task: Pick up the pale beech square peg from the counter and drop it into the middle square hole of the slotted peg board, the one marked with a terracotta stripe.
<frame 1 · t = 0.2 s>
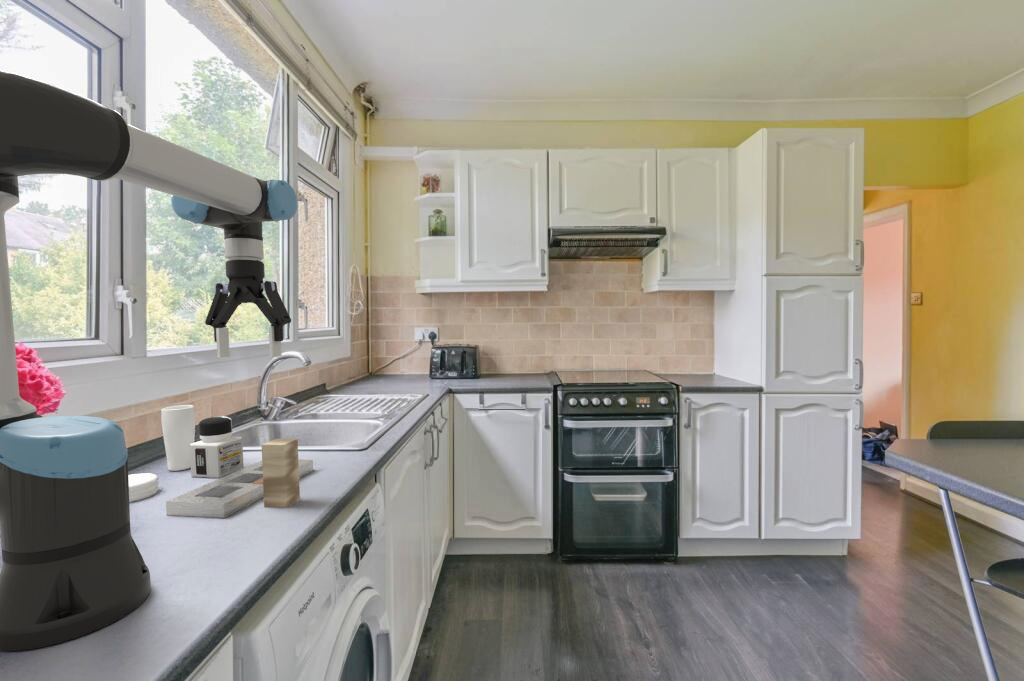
hand: (249, 357, 109), 27 cm above the worktop, fingers open, 13 cm apart
coaster: (129, 497, 102), on the worktop
beech peg: (282, 503, 95), on the worktop
container: (218, 473, 116), on the worktop
drinking glass: (181, 469, 120), on the worktop
slotted peg board: (248, 489, 103), on the worktop
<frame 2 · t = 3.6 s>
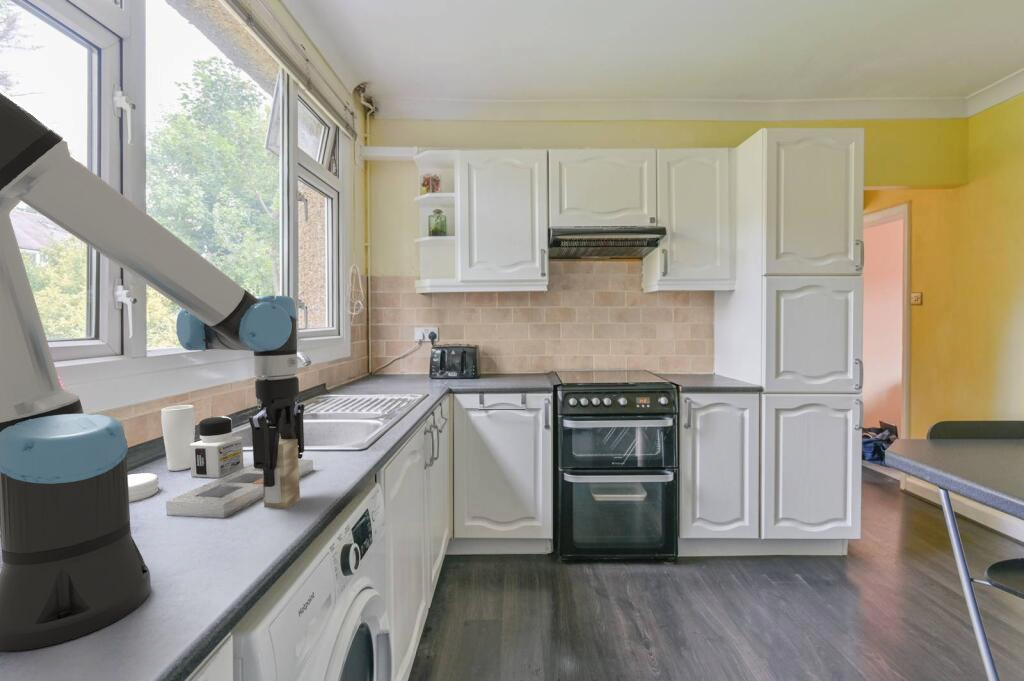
hand: (282, 496, 95), 1 cm above the worktop, fingers closed on beech peg, 4 cm apart
beech peg: (282, 503, 95), on the worktop, touching gripper
everything else where it was.
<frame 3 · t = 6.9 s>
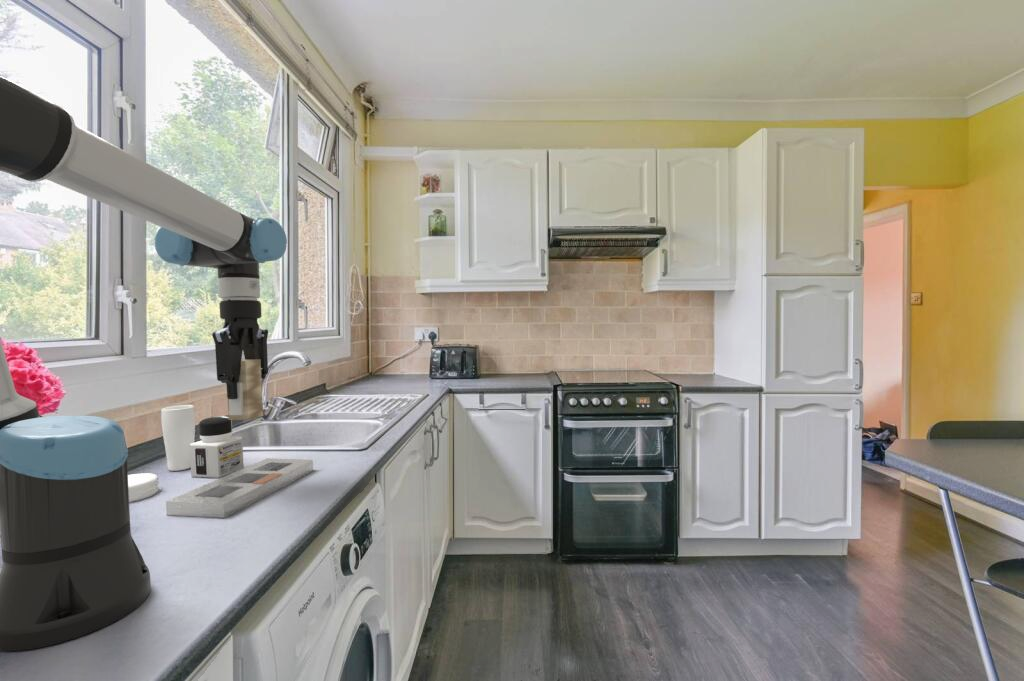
hand: (245, 411, 103), 16 cm above the worktop, fingers closed on beech peg, 4 cm apart
beech peg: (246, 417, 103), point 15 cm above the worktop, touching gripper
everything else where it was.
when the fingers open (4 cm above the worktop, at t = 9.8 s): beech peg drops 2 cm, resting in slotted peg board.
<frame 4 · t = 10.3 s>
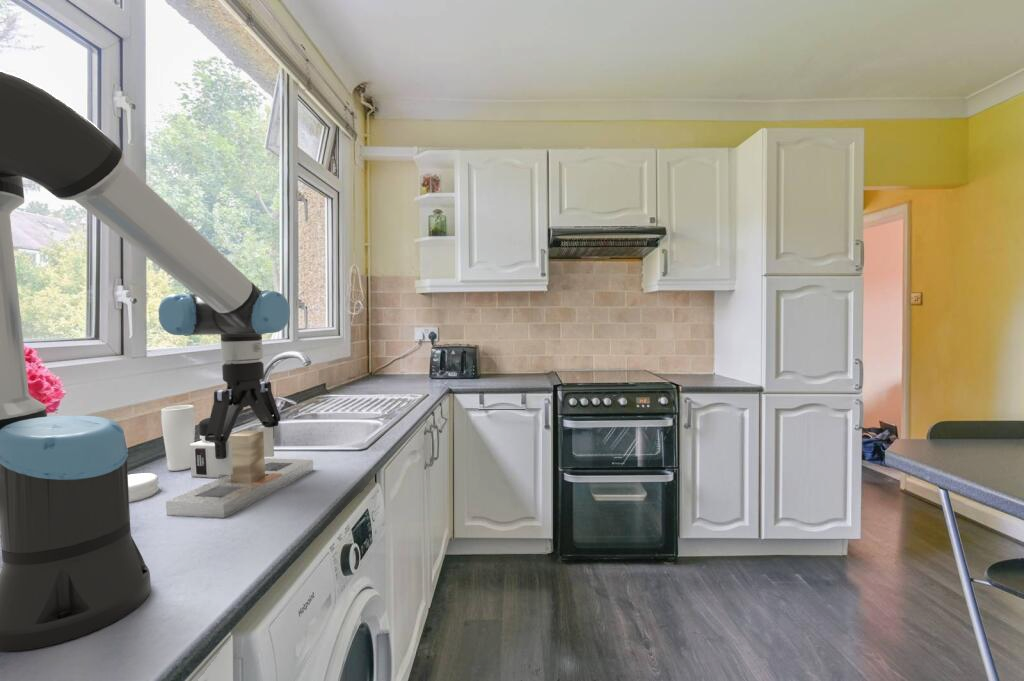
hand: (247, 464, 103), 5 cm above the worktop, fingers open, 12 cm apart
beech peg: (249, 490, 103), resting in slotted peg board
everything else where it was.
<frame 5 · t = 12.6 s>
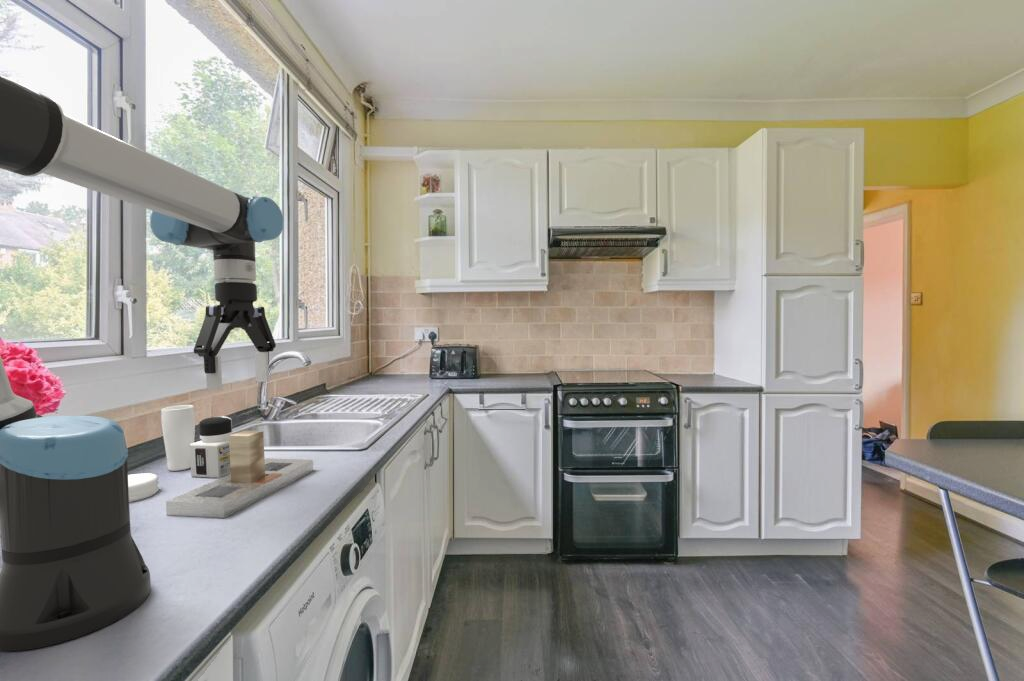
hand: (240, 385, 102), 22 cm above the worktop, fingers open, 13 cm apart
nothing on the worktop moved.
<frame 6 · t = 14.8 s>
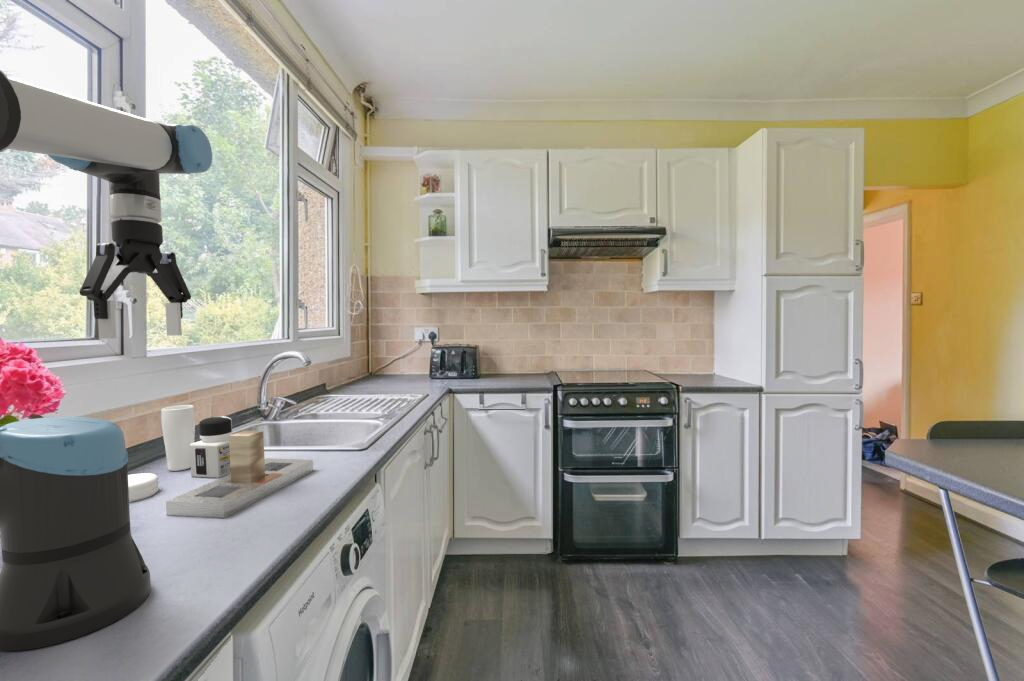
hand: (143, 337, 92), 33 cm above the worktop, fingers open, 13 cm apart
nothing on the worktop moved.
at the end: beech peg 0.0 cm off-centre on the slotted peg board, point 0.0 cm above the slotted peg board's base; beech peg tilted 0°; the gripper is holding nothing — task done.
